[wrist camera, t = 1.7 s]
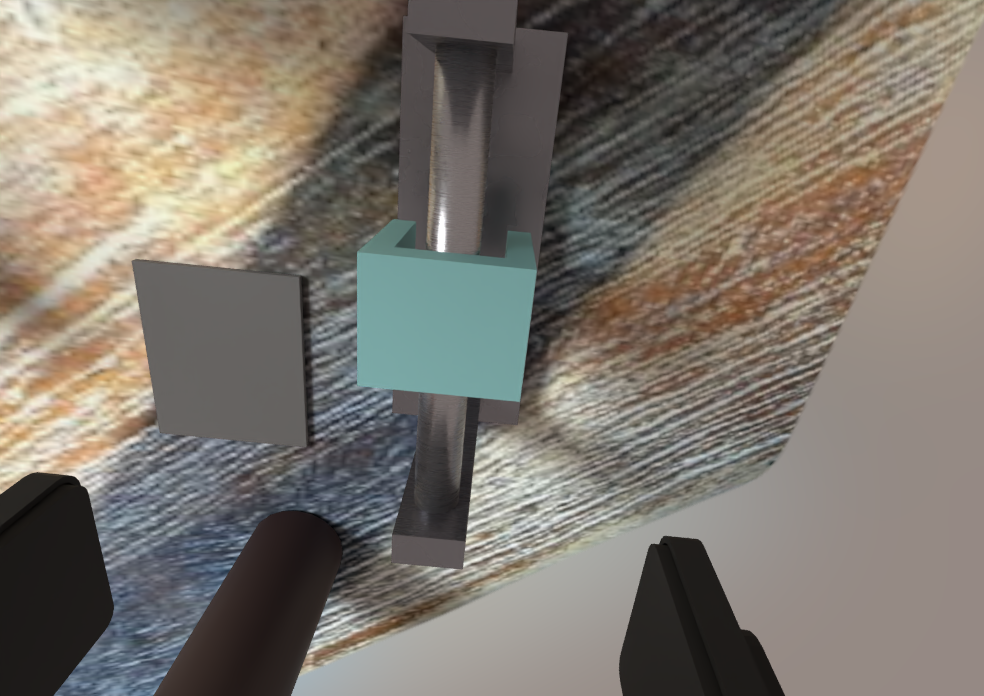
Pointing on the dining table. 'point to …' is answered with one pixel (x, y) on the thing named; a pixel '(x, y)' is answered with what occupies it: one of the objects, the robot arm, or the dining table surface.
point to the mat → (225, 351)
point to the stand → (467, 215)
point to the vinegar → (261, 613)
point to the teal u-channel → (443, 316)
